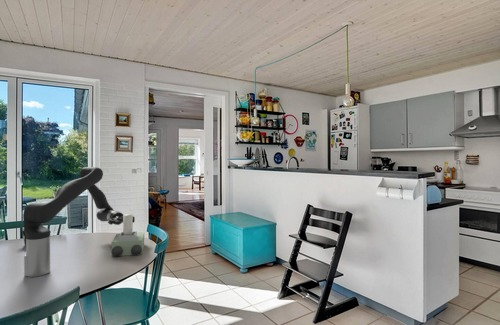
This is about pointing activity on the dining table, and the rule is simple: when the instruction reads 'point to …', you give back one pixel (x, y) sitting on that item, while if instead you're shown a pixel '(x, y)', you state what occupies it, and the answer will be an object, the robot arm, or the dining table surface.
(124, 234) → the spout tube
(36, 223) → the robot arm
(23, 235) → the coffee mug
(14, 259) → the dining table surface
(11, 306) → the dining table surface
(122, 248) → the pale green toy car
